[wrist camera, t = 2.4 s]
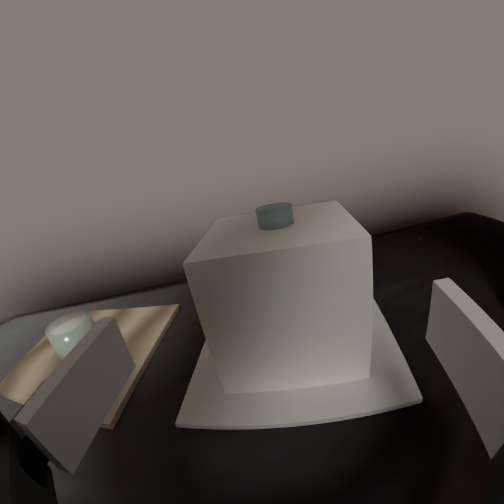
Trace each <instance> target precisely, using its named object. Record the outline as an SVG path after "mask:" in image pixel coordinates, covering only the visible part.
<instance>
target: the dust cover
mask: <svg viewBox="0 0 504 504" xmlns="http://www.w3.org/2000/svg"><path fill="white" fill-rule="evenodd" d="M255 211H256V212H255V213H249V214H243V215H238V216H232V217H226V218H220V219H218V220H217V221H216V223H215V224H214V225H213V227H211V229H210V230H209V231H208V232H207V234H206V235H205V236H204V237H203V239H202V240H201V241H200V242H199V244H198V245H197V246H196V248H195V249H194V250H193V251H192V253H191V254H190V255H189V256H188V258H187V259H186V260H185V261H184V263H183V266H184V270H185V273H186V277H187V280H188V284H189V287H190V290H191V294H192V297H193V300H194V303H195V307H196V310H197V313H198V316H199V319H200V323H201V326H202V329H203V332H204V335H205V338H206V341H207V344H208V347H209V350H210V353H211V356H212V359H213V361H214V364H215V367H216V370H217V373H218V376H219V378H220V381H221V384H222V387H223V389H224V392H225V394H230V393H252V392H267V391H279V390H290V389H299V388H307V387H315V386H323V385H330V384H336V383H342V382H348V381H354V380H359V379H365V378H369V376H370V363H371V347H372V324H373V265H372V241H371V235H370V234H369V233H368V232H367V231H366V230H365V229H364V228H363V227H362V226H361V225H360V224H359V223H358V222H357V221H356V220H355V219H354V218H353V217H352V216H351V215H350V214H349V213H348V212H347V211H346V210H345V209H344V208H343V207H342V206H341V205H340V204H339V203H338V202H337V201H329V202H321V203H314V204H307V205H301V206H294V207H292V204H291V203H274V204H269V205H265V206H261V207H259V208H257V209H256V210H255Z"/></svg>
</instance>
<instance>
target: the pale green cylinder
mask: <svg viewBox="0 0 504 504" xmlns="http://www.w3.org/2000/svg"><path fill="white" fill-rule="evenodd" d="M94 325H95V324H94V321H93V319H92V317H91V315H90V313H89V311H87V310H75V311H71V312H68V313H66V314H64V315H62V316H60V317H58V318H57V319H55V320H54V321H53V322H51V323H50V324H49V326H48V327H47V328H46V331H45V334H46V336H47V338H48V340H49V342H50V344H51V346H52V348H53V349H54V351H55V353H56V355H57V357H58V358H59V360H60V362H61V361H62V360H63V359H64V358H65V357H66V356H67V354H68V353H69V352H70V351H71V350H72V349H73V348H74V347H75V345H76V344H77V343H78V342H79V341H80V340H81V339H82V338H83V337H84V336H85V334H86V333H87V332H88V331H89V330H90V329H91V328H92V327H93V326H94Z"/></svg>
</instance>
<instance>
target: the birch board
mask: <svg viewBox="0 0 504 504" xmlns="http://www.w3.org/2000/svg"><path fill="white" fill-rule="evenodd" d="M179 309H180V308H179V305H178V304H177V305H165V306H154V307H141V308H128V309H114V310H98V311H89V313H90V315H91V317H92V319H93V321H94V324H96V323H97V321H98V320H99V319H100V318H101V317H115V320H116V322H117V325H118V327H119V329H120V332H121V334H122V336H123V339H124V341H125V343H126V345H127V348H128V350H129V352H130V354H131V356H132V358H133V361H134V363H135V365H136V367H135V368H134V370H133V372H132V373H131V375H130V377H129V378H128V380H127V382H126V383H125V385H124V387H123V388H122V390H121V392H120V393H119V395H118V397H117V398H116V400H115V402H114V404H113V405H112V407H111V409H110V410H109V412H108V414H107V416H106V417H105V419H104V421H103V423H102V424H101V426H100V427H102V428H107V429H112V430H113V429H114V427H115V425H116V423H117V421H118V419H119V417H120V416H121V414H122V412H123V410H124V408H125V406H126V404H127V402H128V401H129V399H130V397H131V395H132V393H133V391H134V389H135V388H136V386H137V384H138V382H139V380H140V378H141V377H142V375H143V373H144V371H145V369H146V368H147V366H148V364H149V362H150V360H151V358H152V357H153V355H154V353H155V351H156V350H157V348H158V346H159V344H160V342H161V341H162V339H163V337H164V335H165V334H166V332H167V330H168V328H169V327H170V325H171V323H172V321H173V320H174V318H175V316H176V314H177V313H178V311H179ZM59 364H60V360H59V358H58V357H57V355H56V353H55V351H54V349H53V348H52V346H51V344H50V342H49V340H48V338H47V336H45V337H44V338H43V339H42V340H41V341H40V342H39V343H38V344H37V345H36V346H35V347H34V348H33V349H32V350H31V351H30V352H29V353H28V354H27V355H26V356H25V357H24V358H23V359H22V360H21V361H20V362H19V363H18V364H17V365H16V366H15V367H14V368H13V369H12V371H11V372H10V373H9V374H8V375H7V376H6V377H5V378H4V379H3V380H2V381H1V383H0V396H3V397H5V398H8V399H10V400H12V401H15V402H18V403H20V404H23V405H24V404H25V403H26V401H27V400H28V399H29V398H31V395H32V394H33V393H34V392H36V389H37V388H38V387H39V386H40V384H41V383H42V382H43V381H44V380H46V379H47V377H48V376H49V375H50V374H51V373H52V372H53V370H54V369H55V368H56V367H57V366H58V365H59Z"/></svg>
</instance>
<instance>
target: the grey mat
mask: <svg viewBox="0 0 504 504" xmlns="http://www.w3.org/2000/svg"><path fill="white" fill-rule="evenodd" d="M422 400H423V398H422V395H421V393H420V391H419V389H418V386H417V384H416V382H415V380H414V377H413V375H412V373H411V371H410V369H409V367H408V365H407V363H406V360H405V358H404V356H403V354H402V352H401V350H400V348H399V346H398V344H397V342H396V340H395V338H394V336H393V334H392V332H391V330H390V328H389V326H388V324H387V322H386V320H385V319H384V317H383V315H382V313H381V311H380V309H379V307H378V305H377V304H376V302H375V300H374V298H373V324H372V347H371V363H370V376H369V378H365V379H359V380H354V381H348V382H342V383H336V384H330V385H323V386H315V387H307V388H299V389H290V390H279V391H267V392H252V393H230V394H225V392H224V389H223V387H222V384H221V381H220V378H219V376H218V373H217V370H216V367H215V364H214V361H213V359H212V356H211V353H210V350H209V347H208V344H207V341H206V340H205V343H204V346H203V348H202V351H201V354H200V356H199V359H198V362H197V365H196V367H195V370H194V373H193V375H192V378H191V381H190V384H189V386H188V389H187V392H186V395H185V398H184V400H183V403H182V406H181V409H180V411H179V414H178V417H177V420H176V423H175V425H176V427H177V428H193V429H266V428H282V427H294V426H304V425H313V424H321V423H328V422H335V421H341V420H347V419H353V418H358V417H364V416H369V415H373V414H378V413H383V412H387V411H391V410H395V409H399V408H403V407H407V406H411V405H414V404H418V403H421V402H422Z"/></svg>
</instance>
